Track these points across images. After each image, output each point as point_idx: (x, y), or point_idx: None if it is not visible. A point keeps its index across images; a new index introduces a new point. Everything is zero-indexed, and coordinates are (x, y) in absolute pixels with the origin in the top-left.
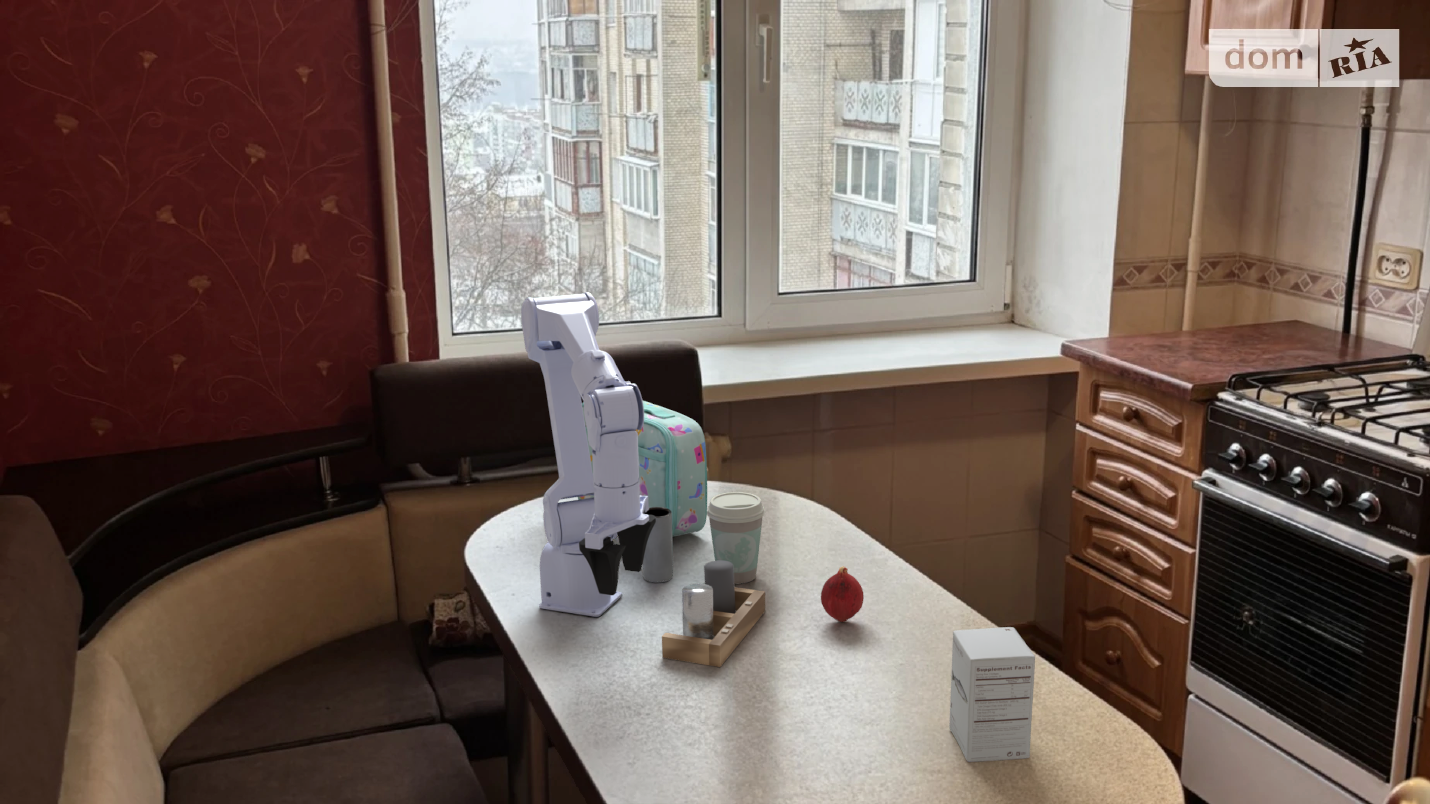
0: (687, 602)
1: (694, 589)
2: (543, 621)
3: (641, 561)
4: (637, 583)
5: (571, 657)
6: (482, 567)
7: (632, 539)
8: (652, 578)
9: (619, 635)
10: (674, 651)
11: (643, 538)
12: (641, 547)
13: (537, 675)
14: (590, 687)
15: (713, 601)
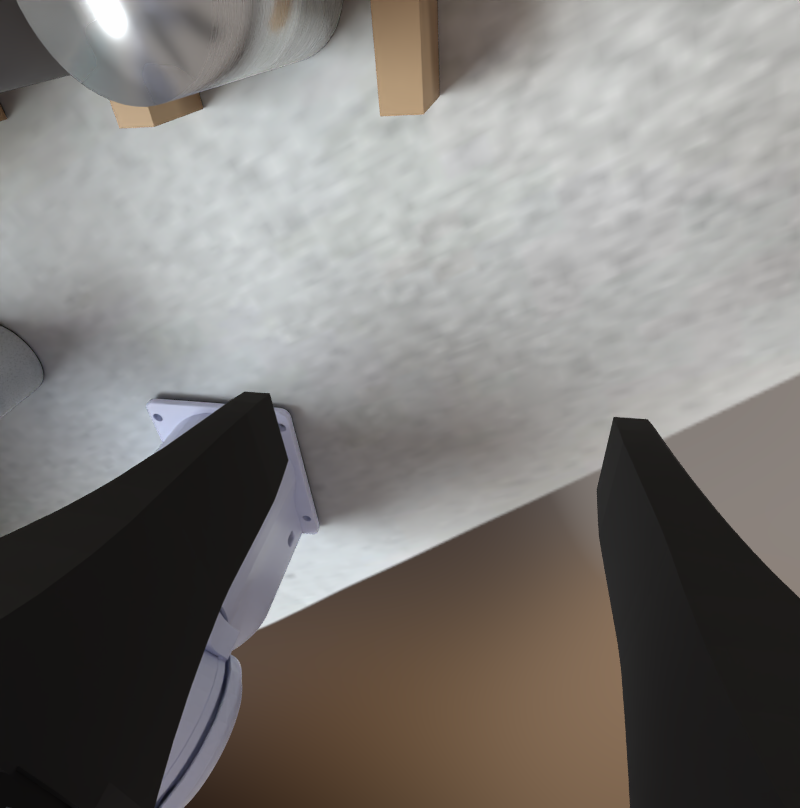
0: (239, 11)
1: (116, 5)
2: (368, 504)
3: (227, 425)
4: (71, 388)
5: (533, 390)
6: None
7: (164, 595)
8: (28, 363)
9: (348, 319)
10: (431, 30)
11: (110, 553)
12: (170, 500)
13: (669, 432)
14: (744, 260)
15: (13, 12)
